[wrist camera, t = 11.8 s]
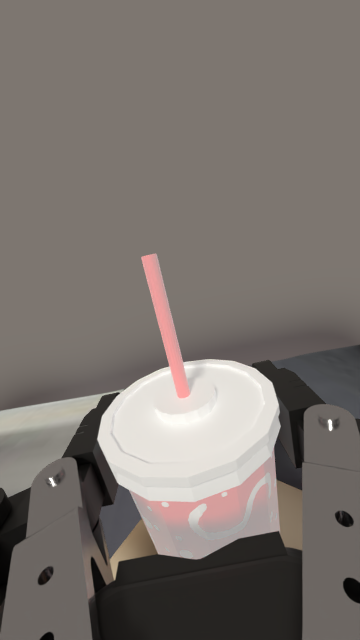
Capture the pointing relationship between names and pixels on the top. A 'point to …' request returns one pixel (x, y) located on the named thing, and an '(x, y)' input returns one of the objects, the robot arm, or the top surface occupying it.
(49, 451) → the top surface
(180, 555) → the beverage cup
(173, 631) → the robot arm
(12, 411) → the top surface
